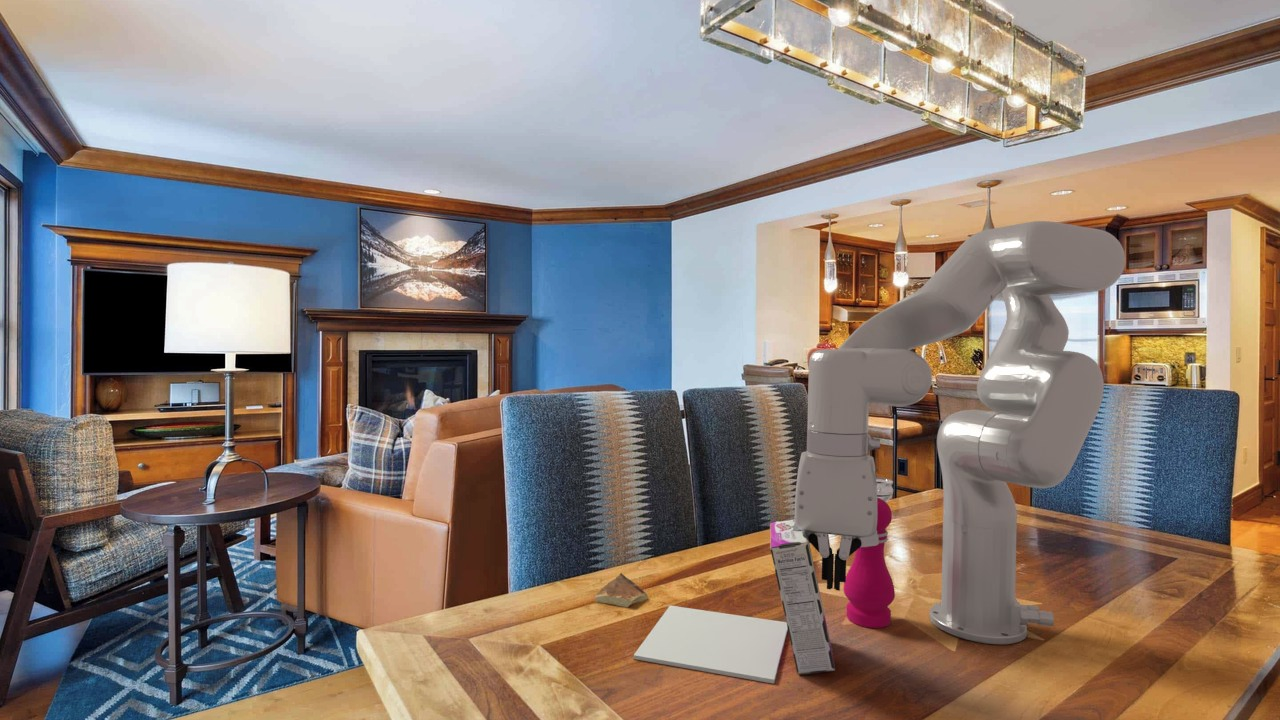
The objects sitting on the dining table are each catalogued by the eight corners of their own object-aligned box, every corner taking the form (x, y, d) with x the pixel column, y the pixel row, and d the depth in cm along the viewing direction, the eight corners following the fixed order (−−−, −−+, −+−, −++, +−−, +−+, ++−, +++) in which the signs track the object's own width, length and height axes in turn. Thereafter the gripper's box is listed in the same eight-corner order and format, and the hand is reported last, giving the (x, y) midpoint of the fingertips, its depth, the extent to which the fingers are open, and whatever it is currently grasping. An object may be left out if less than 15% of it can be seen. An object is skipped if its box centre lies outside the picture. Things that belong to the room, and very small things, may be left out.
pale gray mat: (788, 626, 94) (788, 622, 94) (774, 683, 78) (774, 679, 78) (669, 608, 100) (669, 605, 100) (633, 659, 84) (633, 655, 84)
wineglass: (897, 540, 136) (898, 483, 136) (865, 540, 136) (866, 483, 136) (885, 531, 143) (886, 477, 143) (854, 530, 143) (855, 476, 143)
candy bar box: (792, 636, 91) (768, 521, 91) (828, 632, 90) (804, 516, 90) (795, 676, 80) (768, 545, 80) (836, 672, 79) (809, 540, 79)
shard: (620, 581, 113) (620, 571, 113) (661, 588, 110) (662, 577, 110) (592, 604, 103) (592, 593, 103) (637, 612, 100) (637, 601, 100)
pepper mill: (888, 634, 92) (891, 494, 91) (837, 622, 96) (839, 487, 95) (898, 616, 98) (901, 485, 97) (849, 605, 102) (852, 479, 101)
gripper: (897, 444, 85) (893, 584, 85) (781, 437, 89) (778, 569, 90) (901, 453, 77) (897, 605, 78) (774, 445, 82) (771, 588, 82)
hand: (833, 586), depth 84 cm, fingers closed
